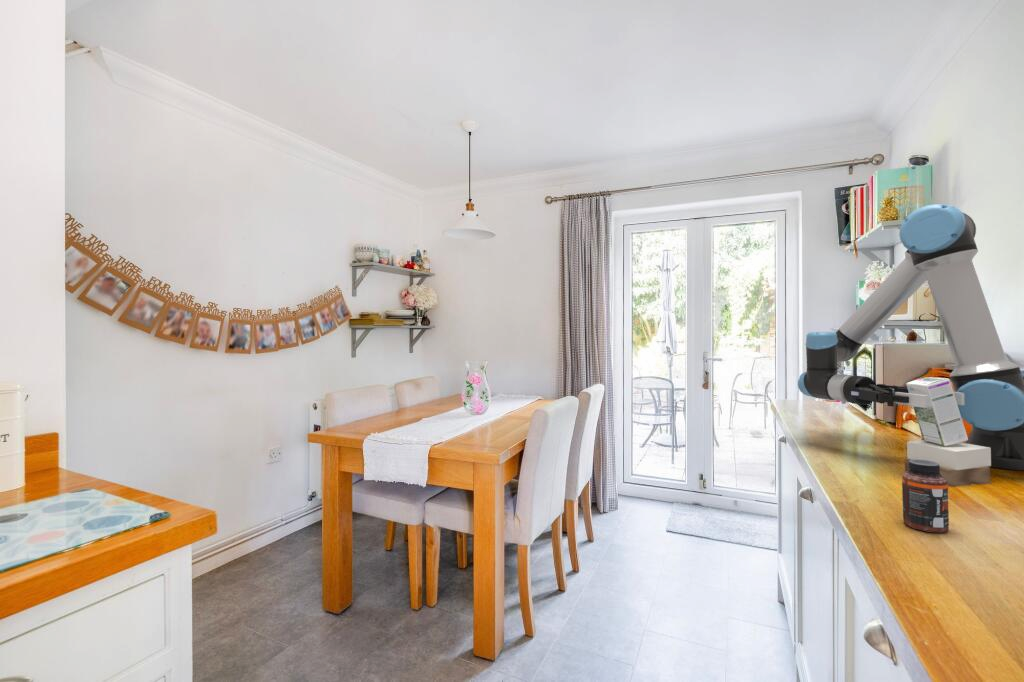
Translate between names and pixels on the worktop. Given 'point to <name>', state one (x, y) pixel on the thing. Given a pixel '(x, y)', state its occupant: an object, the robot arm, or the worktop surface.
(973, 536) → the worktop surface
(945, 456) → the tower top block
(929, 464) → the supplement bottle
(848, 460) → the worktop surface
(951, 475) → the tower base block
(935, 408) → the syrup box
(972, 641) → the worktop surface
